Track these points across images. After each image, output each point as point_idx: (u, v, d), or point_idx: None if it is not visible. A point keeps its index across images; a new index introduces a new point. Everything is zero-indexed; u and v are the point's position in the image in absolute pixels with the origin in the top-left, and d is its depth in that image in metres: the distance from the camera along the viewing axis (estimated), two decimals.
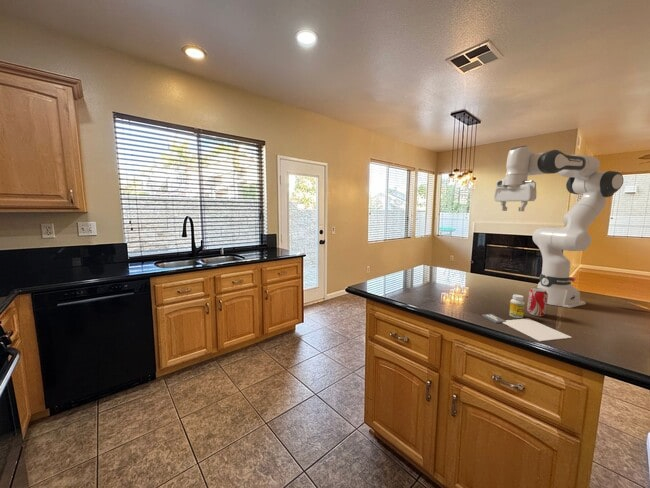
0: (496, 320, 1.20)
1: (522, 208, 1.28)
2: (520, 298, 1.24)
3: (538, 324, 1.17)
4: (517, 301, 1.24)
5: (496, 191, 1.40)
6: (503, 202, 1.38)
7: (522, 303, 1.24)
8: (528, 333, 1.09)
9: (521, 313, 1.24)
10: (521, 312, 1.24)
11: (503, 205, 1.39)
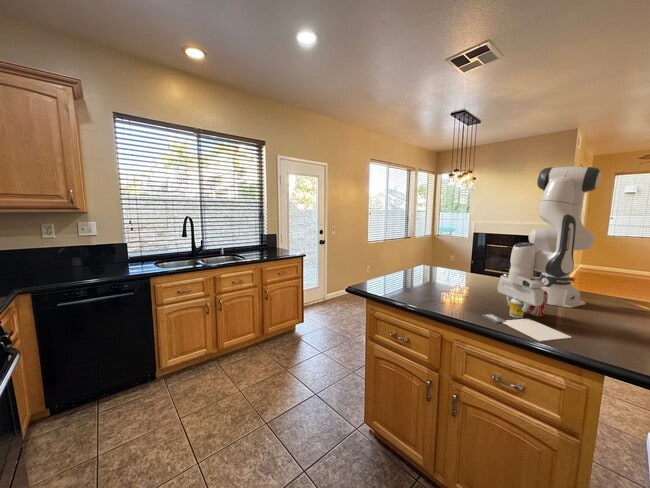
0: (496, 320, 1.20)
1: None
2: None
3: (538, 324, 1.17)
4: (517, 301, 1.24)
5: None
6: None
7: (522, 303, 1.24)
8: (528, 333, 1.09)
9: (521, 313, 1.24)
10: (521, 312, 1.24)
11: None
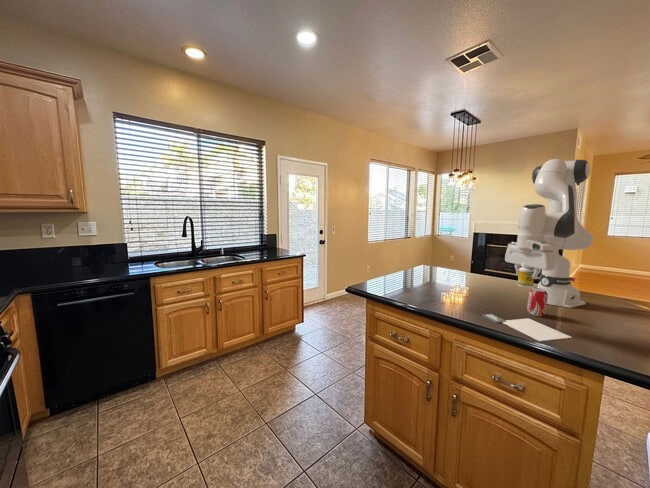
0: (496, 320, 1.20)
1: None
2: None
3: (538, 324, 1.17)
4: (526, 269, 1.15)
5: None
6: None
7: (532, 271, 1.14)
8: (528, 333, 1.09)
9: (531, 282, 1.14)
10: (531, 281, 1.14)
11: None
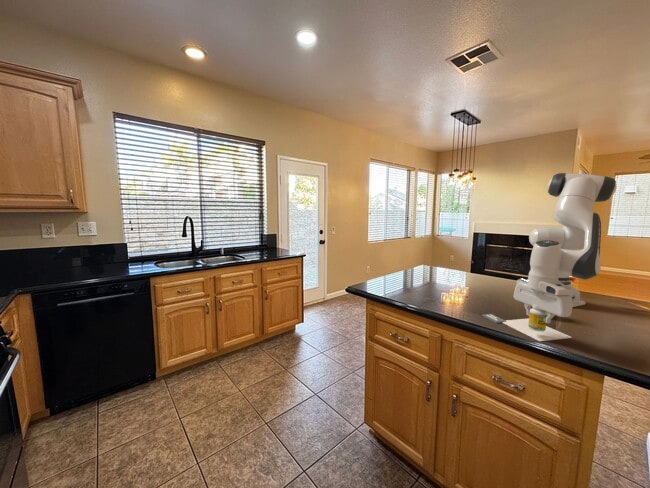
0: (496, 320, 1.20)
1: None
2: None
3: None
4: (538, 311, 1.04)
5: None
6: None
7: (544, 314, 1.03)
8: (528, 333, 1.09)
9: (543, 326, 1.04)
10: (543, 324, 1.04)
11: None
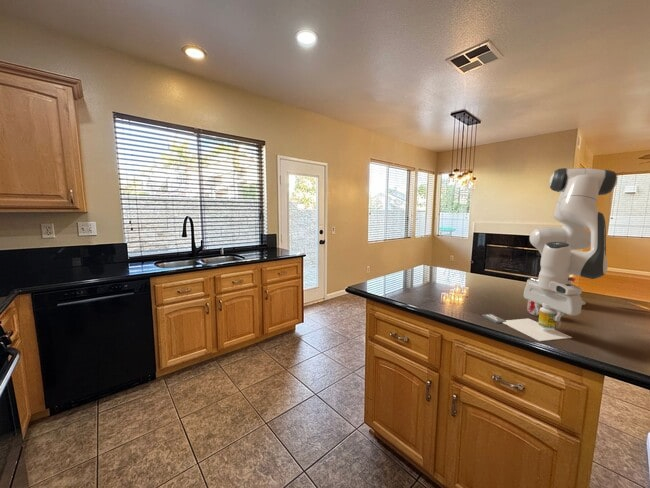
0: (496, 320, 1.20)
1: None
2: None
3: None
4: (548, 310, 1.09)
5: None
6: None
7: (554, 312, 1.08)
8: (528, 333, 1.09)
9: (553, 324, 1.09)
10: (553, 322, 1.08)
11: None
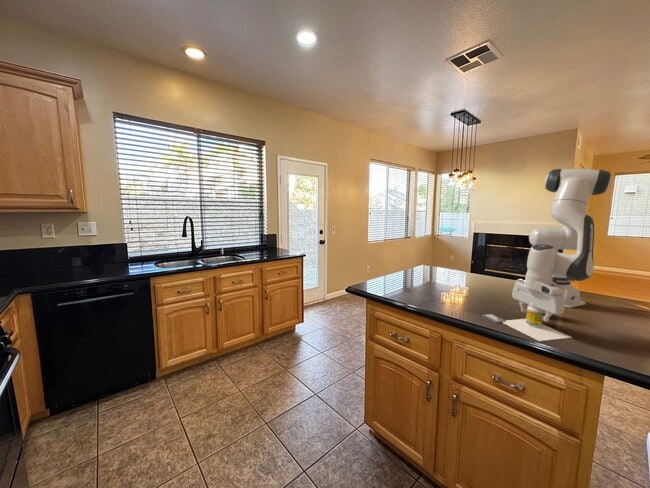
0: (496, 320, 1.20)
1: None
2: None
3: None
4: (535, 309, 1.14)
5: None
6: None
7: (540, 311, 1.13)
8: (528, 333, 1.09)
9: (539, 322, 1.14)
10: (539, 321, 1.14)
11: None
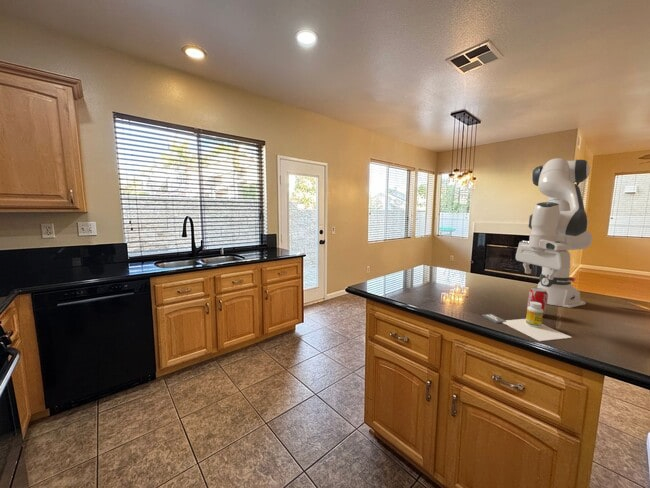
0: (496, 320, 1.20)
1: None
2: (538, 306, 1.13)
3: None
4: (535, 309, 1.14)
5: None
6: None
7: (540, 311, 1.13)
8: (528, 333, 1.09)
9: (539, 322, 1.14)
10: (539, 321, 1.14)
11: None
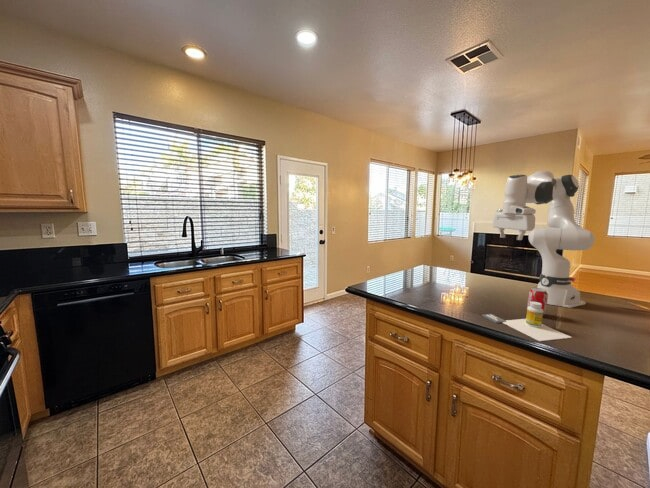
0: (496, 320, 1.20)
1: None
2: (538, 306, 1.13)
3: None
4: (535, 309, 1.14)
5: None
6: None
7: (540, 311, 1.13)
8: (528, 333, 1.09)
9: (539, 322, 1.14)
10: (539, 321, 1.14)
11: None
